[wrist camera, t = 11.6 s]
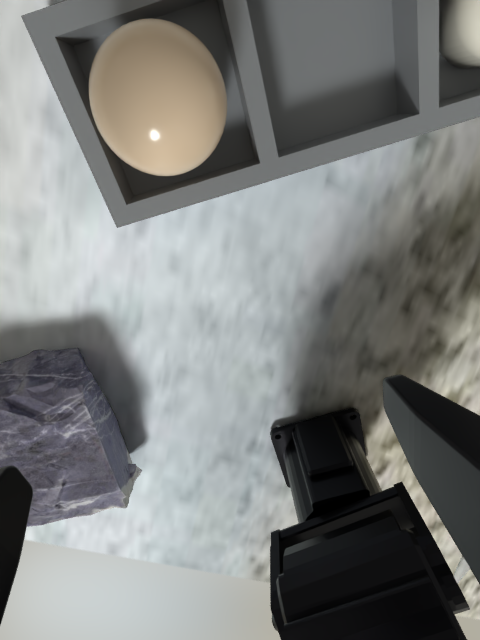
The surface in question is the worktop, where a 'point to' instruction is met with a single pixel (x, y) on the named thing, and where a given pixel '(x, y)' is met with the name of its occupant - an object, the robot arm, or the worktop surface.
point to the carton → (267, 87)
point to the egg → (460, 32)
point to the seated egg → (157, 97)
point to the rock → (62, 437)
